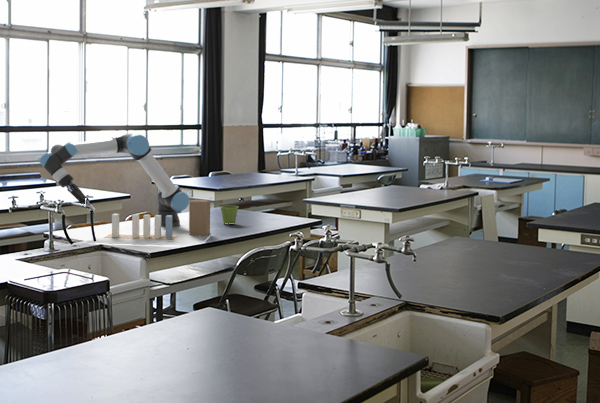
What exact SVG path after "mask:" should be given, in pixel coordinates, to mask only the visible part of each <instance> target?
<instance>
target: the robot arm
mask: <svg viewBox="0 0 600 403" xmlns="http://www.w3.org/2000/svg"><path fill="white" fill-rule="evenodd" d="M104 153H105V154H107V153H114V154H129V155H130V156H131V157H132V159H133V160H134V162H138V163H139V164H140V165H141V167H142V168H143V169H144V171H145V172H146V173H147V175H148V176H149V177H150V179H151V180H152V182H153V183H154V184H155V186H156V187H157V188H158V190H157V213H156V215H161V227H166V216H167V215H172V227H177V226H180V225H181V221H180V217H179V213H178V212H183V211H184V210H186V209H187V208H188V207H189V203H190V197H189V195H188V194H187V193H186V192H184V191H182V189H181V188H180V186H179V185H178V184H175V183H174V182H173V181H172V180H171V178H170V177H169V176H168V174H167V173H166V172H165V170H164V168H163V167H162V166H161V165H160V163H159V162H158V160H157V159H156V158H155V156H154V155H153V153H152V148H151V146H150V143H149V140H148V139H147V137H146V136H144V135H142V134H140V133H124V134H121V135H117V136H112V137H111V138H107V139H98V140H91V141H89V140H88V141H82V142H80V141H79V142H73V143H72V142H71V141H68V142H67V143H64V144H55V145H53V146H52V147H51V148H50V151H48V152H46V153H44V154H43V155H42V156H41V157H40V158H39V163H40V165H41V166H42V167H43V168H44V169H45V171H47V172H48V174H50V176H51V177H52V179H53V180H54V181H56V182H57V184H58V185H60V187H61V188H65V187H66V188H67V192H69V193H70V194H71V195H72V196H73V197H74V198H75V199H76V200H77V201H78V202H79V203H80V204H81V205H82V204H83V205H84V204H85V198H87V197H86V195H85V194H84V193H83V191H82V190H81V188H80V187H79V186H78V185H76V184H75V183H73V180H74V177H73V176H72V175H71V174H69V172H68V171H67V170H66V169H65V167H64V166H63V165H64V164H65V163H67V162H68V161H69V160H70V159H72V158H73V157H75V158H76V157H83V156H89V155H90V156H91V155H99V154H104ZM92 207H93V212H94V211H95V210H96V208H95V207H94V205H92ZM86 210H88V211H89V212H90V210H89V209H88V208H86Z"/></svg>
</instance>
